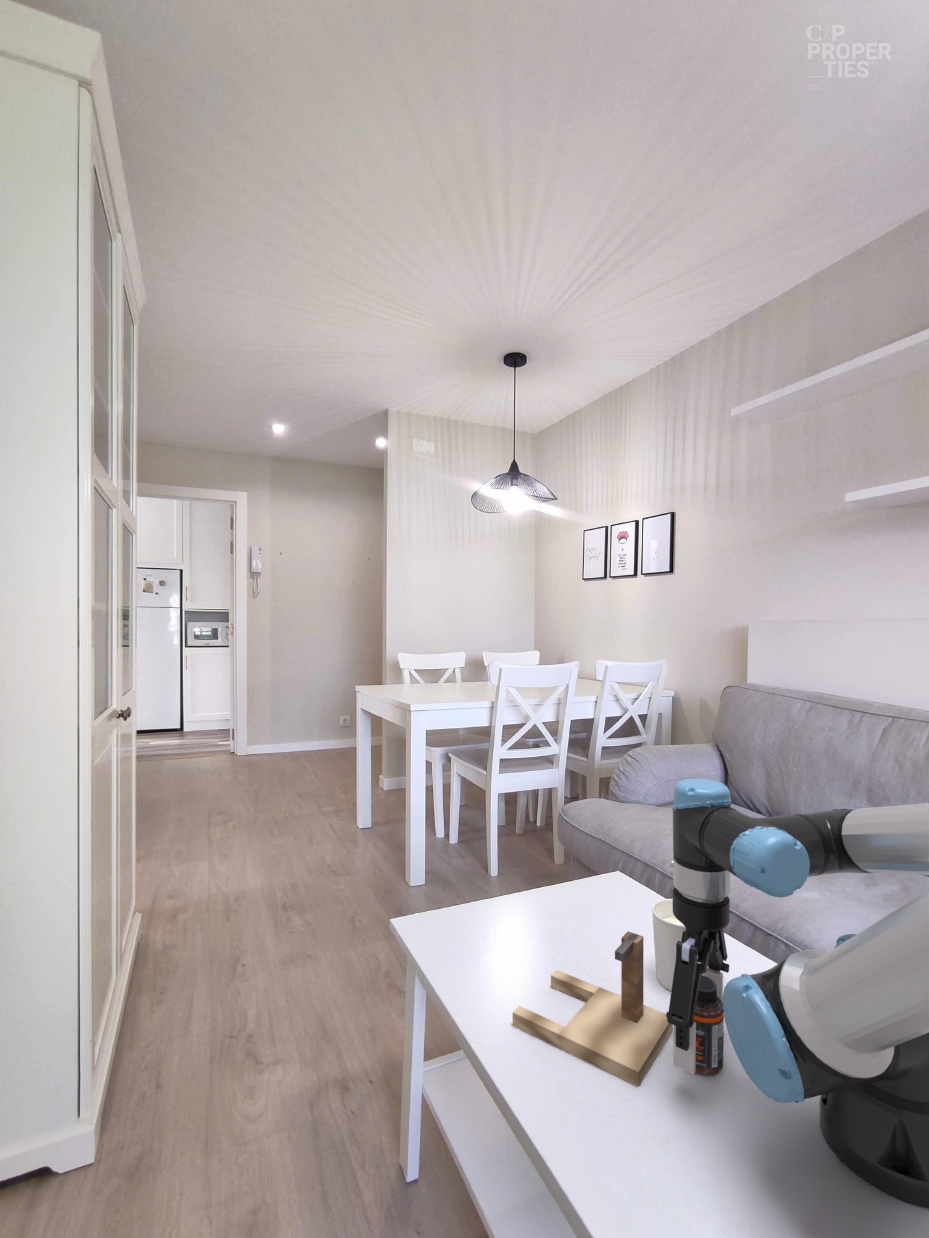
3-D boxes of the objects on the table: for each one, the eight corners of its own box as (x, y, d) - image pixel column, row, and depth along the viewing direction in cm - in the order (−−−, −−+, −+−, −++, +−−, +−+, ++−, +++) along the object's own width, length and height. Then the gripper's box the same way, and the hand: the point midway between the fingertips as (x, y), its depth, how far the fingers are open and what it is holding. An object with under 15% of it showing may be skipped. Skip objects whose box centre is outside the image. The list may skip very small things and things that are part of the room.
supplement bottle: (670, 1060, 85) (670, 981, 85) (690, 1040, 89) (690, 964, 89) (712, 1084, 81) (712, 1000, 81) (731, 1062, 85) (731, 982, 85)
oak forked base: (672, 1029, 91) (672, 1016, 91) (638, 1086, 80) (638, 1071, 80) (556, 981, 103) (556, 969, 103) (512, 1025, 92) (512, 1012, 92)
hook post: (643, 1014, 92) (643, 936, 92) (627, 1037, 87) (626, 955, 87) (627, 1008, 93) (627, 931, 93) (610, 1030, 88) (610, 949, 88)
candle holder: (717, 1002, 98) (717, 929, 98) (655, 994, 100) (655, 923, 100) (706, 968, 107) (706, 901, 107) (649, 961, 109) (649, 896, 109)
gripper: (699, 855, 97) (698, 985, 97) (642, 918, 77) (641, 1081, 77) (749, 868, 92) (748, 1004, 93) (702, 938, 73) (700, 1110, 73)
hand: (699, 1039), depth 85 cm, fingers open, 13 cm apart
